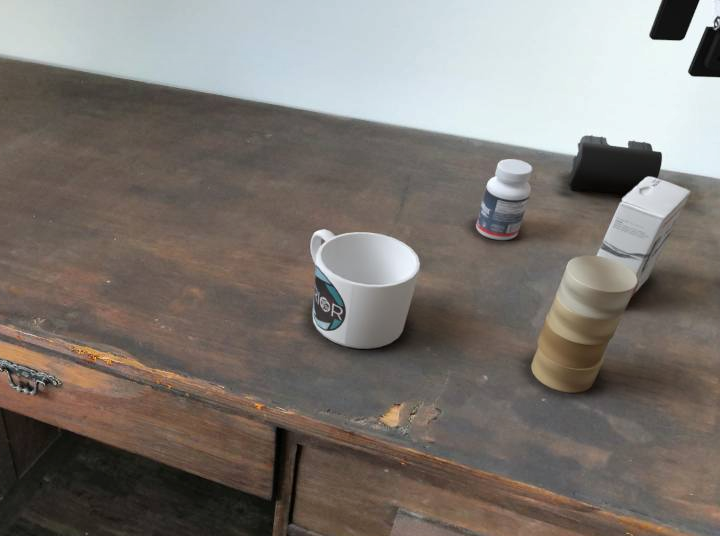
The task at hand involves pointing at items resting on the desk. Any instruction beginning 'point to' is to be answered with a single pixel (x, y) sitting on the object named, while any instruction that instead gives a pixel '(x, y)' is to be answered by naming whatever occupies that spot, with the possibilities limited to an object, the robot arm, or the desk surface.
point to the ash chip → (596, 287)
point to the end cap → (612, 166)
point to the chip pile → (566, 362)
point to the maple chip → (580, 325)
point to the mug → (362, 287)
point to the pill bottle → (505, 200)
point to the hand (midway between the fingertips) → (684, 56)
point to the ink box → (643, 225)
